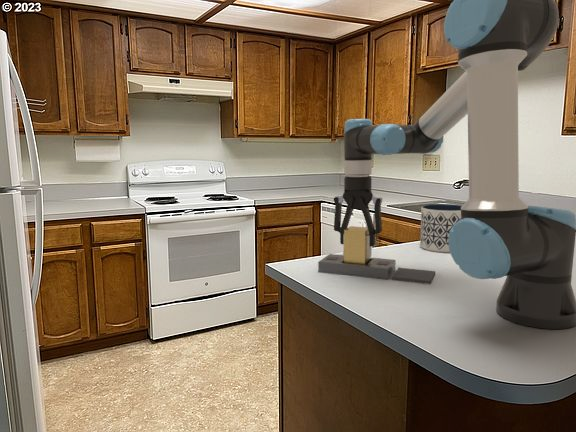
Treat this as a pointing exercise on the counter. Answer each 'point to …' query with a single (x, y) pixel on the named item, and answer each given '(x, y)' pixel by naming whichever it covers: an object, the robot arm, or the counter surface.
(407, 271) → the pad
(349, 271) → the grey slotted block
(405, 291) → the counter surface
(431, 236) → the planter
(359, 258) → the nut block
